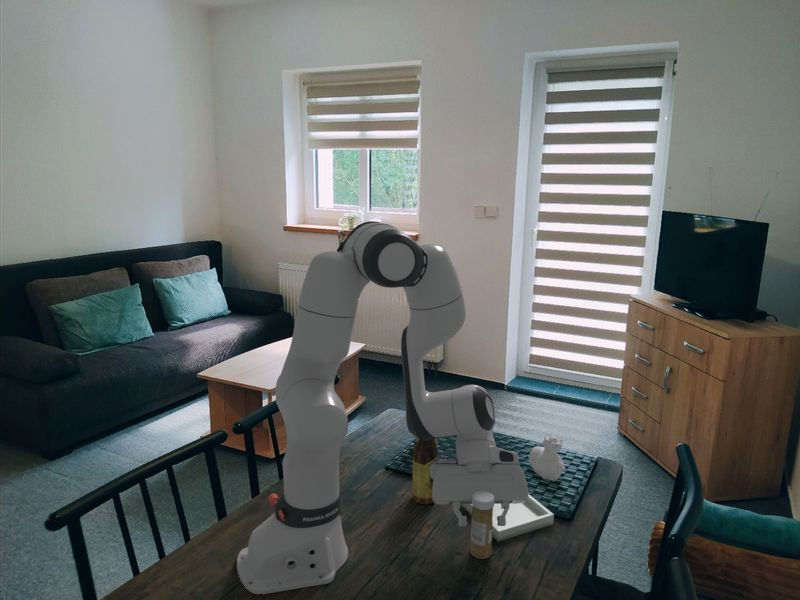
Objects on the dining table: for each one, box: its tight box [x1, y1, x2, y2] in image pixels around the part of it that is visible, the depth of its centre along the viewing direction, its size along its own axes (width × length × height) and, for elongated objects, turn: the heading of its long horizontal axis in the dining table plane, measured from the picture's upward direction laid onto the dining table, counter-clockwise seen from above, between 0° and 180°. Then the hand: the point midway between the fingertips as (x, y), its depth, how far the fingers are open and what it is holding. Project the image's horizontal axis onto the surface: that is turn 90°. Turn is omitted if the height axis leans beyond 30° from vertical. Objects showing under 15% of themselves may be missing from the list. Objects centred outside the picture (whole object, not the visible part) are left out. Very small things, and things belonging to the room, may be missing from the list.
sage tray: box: [461, 493, 555, 542], centre depth 138 cm, size 15×15×2 cm
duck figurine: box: [528, 435, 566, 482], centre depth 156 cm, size 12×8×11 cm
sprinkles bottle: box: [469, 491, 494, 560], centre depth 124 cm, size 5×5×13 cm
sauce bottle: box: [411, 439, 440, 505], centre depth 143 cm, size 7×6×20 cm
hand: (482, 525), depth 123 cm, fingers open, 7 cm apart
